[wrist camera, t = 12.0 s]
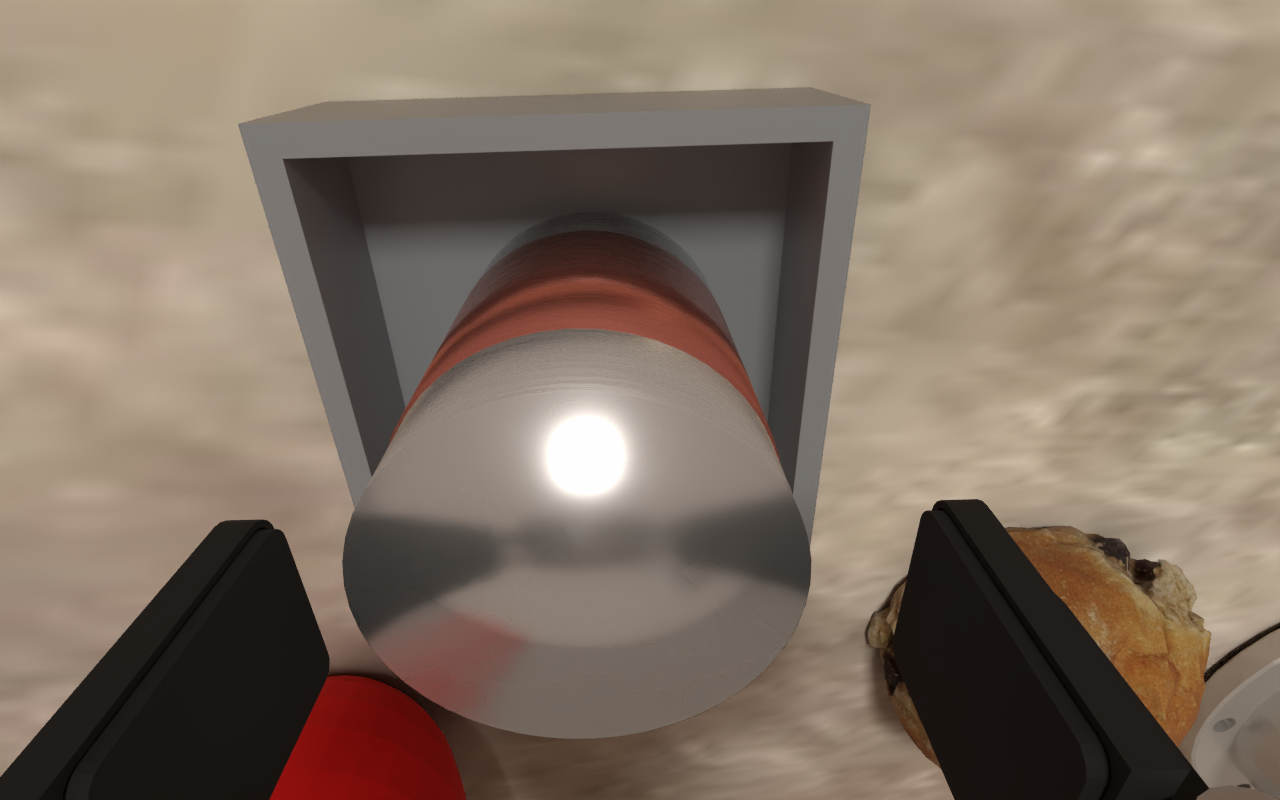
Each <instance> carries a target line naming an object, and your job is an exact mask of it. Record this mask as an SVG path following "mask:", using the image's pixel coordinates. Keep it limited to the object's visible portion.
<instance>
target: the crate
mask: <svg viewBox="0 0 1280 800" xmlns="http://www.w3.org/2000/svg"><path fill="white" fill-rule="evenodd" d="M870 107H871V104H867V103H864V102H860V101H857V100H853V99H850V98H846V97H843V96H839V95H836V94H832V93H829V92H825V91H821V90H818V89H814V88H778V89H744V90H711V91H678V92H644V93H611V94H578V95H544V96H511V97H477V98H444V99H411V100H377V101H344V102H323V103H319V104H315V105H311V106H307V107H303V108H299V109H295V110H291V111H287V112H283V113H279V114H275V115H271V116H267V117H263V118H259V119H256V120H252V121H248V122H244V123H240V124H238V126H239V129H240V132H241V136H242V139H243V142H244V145H245V149H246V152H247V155H248V159H249V162H250V165H251V168H252V172H253V175H254V178H255V182H256V185H257V188H258V191H259V195H260V198H261V201H262V205H263V208H264V211H265V214H266V218H267V221H268V224H269V228H270V231H271V234H272V238H273V241H274V244H275V247H276V251H277V254H278V257H279V261H280V264H281V267H282V270H283V274H284V277H285V280H286V284H287V287H288V290H289V293H290V297H291V300H292V303H293V307H294V310H295V313H296V316H297V320H298V323H299V326H300V330H301V333H302V336H303V339H304V343H305V346H306V349H307V353H308V356H309V359H310V362H311V366H312V369H313V372H314V376H315V379H316V382H317V385H318V389H319V392H320V395H321V399H322V402H323V405H324V408H325V412H326V415H327V418H328V422H329V425H330V428H331V431H332V435H333V438H334V441H335V445H336V448H337V451H338V455H339V458H340V461H341V464H342V468H343V471H344V474H345V478H346V481H347V484H348V487H349V491H350V494H351V497H352V501H353V504H354V507H355V508H356V506H357V504H358V502H359V500H360V499H361V497H362V495H363V493H364V491H365V489H366V487H367V485H368V483H369V482H370V480H371V478H372V476H373V474H374V472H375V471H376V469H377V467H378V465H379V463H380V461H381V460H382V458H383V456H384V454H385V452H386V450H387V449H388V446H389V443H390V439H391V436H392V433H393V431H394V429H395V427H396V425H397V424H398V422H399V420H400V418H401V416H402V414H403V412H404V410H405V408H406V407H407V405H408V403H409V401H410V399H411V398H412V396H413V394H414V392H415V390H416V389H417V387H418V385H419V383H420V381H421V380H422V378H423V376H424V374H425V372H426V371H427V369H428V367H429V365H430V363H431V362H432V360H433V358H434V356H435V354H436V353H437V351H438V349H439V347H440V345H441V344H442V342H443V340H444V338H445V336H446V335H447V333H448V331H449V329H450V327H451V326H452V324H453V322H454V320H455V318H456V317H457V315H458V313H459V311H460V309H461V308H462V306H463V304H464V302H465V300H466V299H467V297H468V295H469V293H470V292H471V291H472V289H473V288H474V286H475V285H476V284H477V282H478V281H479V280H480V278H481V276H482V274H483V272H484V271H485V269H486V267H487V266H488V265H489V263H490V262H491V260H492V259H493V258H494V256H495V255H496V254H497V253H498V252H499V251H500V250H501V249H502V248H503V247H504V246H505V245H506V244H507V243H508V242H509V241H511V240H512V239H513V238H514V237H516V236H517V235H518V234H520V233H521V232H523V231H525V230H527V229H528V228H530V227H532V226H534V225H535V224H538V223H541V222H543V221H546V220H548V219H551V218H554V217H558V216H562V215H566V214H573V213H582V212H602V213H610V214H616V215H622V216H625V217H629V218H632V219H635V220H639V221H641V222H643V223H645V224H648V225H650V226H652V227H654V228H656V229H657V230H659V231H661V232H662V233H664V234H665V235H667V236H669V237H670V238H671V239H672V240H674V241H675V242H676V243H677V244H678V245H680V246H681V247H682V248H683V249H684V250H685V251H686V252H687V254H688V255H689V256H690V257H691V258H692V259H693V260H694V262H695V263H696V265H697V266H698V267H699V269H700V270H701V272H702V273H703V275H704V277H705V279H706V281H707V283H708V285H709V287H710V290H711V292H712V295H713V297H714V298H715V300H716V302H717V304H718V306H719V308H720V310H721V312H722V314H723V316H724V319H725V321H726V324H727V326H728V328H729V331H730V333H731V336H732V338H733V341H734V343H735V345H736V348H737V350H738V353H739V355H740V358H741V360H742V362H743V365H744V367H745V370H746V372H747V375H748V377H749V380H750V382H751V384H752V387H753V389H754V392H755V394H756V397H757V399H758V401H759V404H760V406H761V409H762V411H763V414H764V416H765V418H766V421H767V423H768V426H769V428H770V431H771V433H772V436H773V439H774V442H775V445H776V448H777V451H778V454H779V457H780V463H781V467H782V469H783V472H784V474H785V477H786V479H787V482H788V484H789V487H790V489H791V492H792V494H793V497H794V499H795V502H796V504H797V506H798V509H799V511H800V514H801V517H802V520H803V523H804V526H805V529H806V532H807V535H808V540H809V548H810V543H811V536H812V528H813V521H814V514H815V507H816V499H817V492H818V485H819V477H820V470H821V463H822V456H823V448H824V441H825V434H826V427H827V419H828V412H829V405H830V397H831V390H832V383H833V376H834V368H835V361H836V354H837V347H838V339H839V332H840V325H841V318H842V310H843V303H844V296H845V288H846V281H847V274H848V267H849V259H850V252H851V245H852V238H853V230H854V223H855V216H856V208H857V201H858V194H859V187H860V179H861V172H862V165H863V158H864V150H865V143H866V136H867V128H868V121H869V114H870Z"/></svg>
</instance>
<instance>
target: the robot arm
mask: <svg viewBox="0 0 1280 800" xmlns="http://www.w3.org/2000/svg"><path fill="white" fill-rule="evenodd" d="M893 652H894V657H895V661H896V664H897V667H898V669H899V671H900V674H901V676H902V678H903V681H904V683H905V685H906V688H907V690H908V692H909V695H910V697H911V699H912V702H913V704H914V706H915V709H916V711H917V713H918V716H919V718H920V720H921V723H922V725H923V727H924V730H925V732H926V734H927V737H928V739H929V741H930V744H931V746H932V748H933V750H934V753H935V755H936V757H937V760H938V762H939V764H940V767H941V769H942V771H943V774H944V776H945V778H946V781H947V783H948V785H949V788H950V790H951V792H952V795H953V797H954V799H955V800H1280V628H1279V629H1277V630H1275V631H1273V632H1271V633H1269V634H1267V635H1266V636H1264V637H1263V638H1261V639H1259V640H1258V641H1256V642H1255V643H1253V644H1252V645H1250V646H1248V647H1247V648H1245V649H1244V650H1242V651H1241V652H1239V653H1238V654H1237V655H1235V656H1234V657H1233V658H1232V659H1230V660H1229V661H1228V662H1227V663H1225V664H1224V665H1223V666H1222V667H1220V668H1219V669H1218V670H1217V671H1216V672H1215V673H1214V674H1213V675H1212V676H1211V677H1210V678H1209V679H1208V680H1207V681H1206V682H1205V686H1206V687H1205V690H1204V693H1203V696H1202V700H1201V706H1200V709H1199V713H1198V716H1197V719H1196V721H1195V722H1194V724H1193V726H1192V727H1191V729H1190V731H1189V732H1188V733H1187V735H1186V736H1185V738H1184V739H1183V741H1182V743H1181V745H1180V746H1179V748H1178V747H1177V746H1176V745H1175V743H1174V742H1173V741H1172V740H1171V738H1170V737H1169V736H1168V734H1167V733H1166V732H1165V731H1164V729H1163V728H1162V727H1161V726H1160V724H1159V723H1158V722H1157V720H1156V719H1155V718H1154V717H1153V715H1152V714H1151V713H1150V711H1149V710H1148V709H1147V708H1146V706H1145V705H1144V704H1143V702H1142V701H1141V700H1140V699H1139V697H1138V696H1137V695H1136V693H1135V692H1134V691H1133V690H1132V688H1131V687H1130V686H1129V684H1128V683H1127V682H1126V681H1125V679H1124V678H1123V677H1122V675H1121V674H1120V673H1119V672H1118V670H1117V669H1116V668H1115V666H1114V665H1113V664H1112V663H1111V661H1110V660H1109V659H1108V657H1107V656H1106V655H1105V654H1104V652H1103V651H1102V650H1101V648H1100V647H1099V646H1098V645H1097V643H1096V642H1095V641H1094V639H1093V638H1092V637H1091V636H1090V634H1089V633H1088V632H1087V630H1086V629H1085V628H1084V627H1083V625H1082V624H1081V623H1080V621H1079V620H1078V619H1077V618H1076V616H1075V615H1074V614H1073V612H1072V611H1071V610H1070V609H1069V607H1068V606H1067V605H1066V604H1065V603H1064V602H1063V601H1062V600H1061V599H1060V598H1059V597H1058V596H1057V595H1056V594H1055V593H1054V592H1053V590H1052V589H1051V588H1050V586H1049V585H1048V584H1047V583H1046V581H1045V580H1044V579H1043V577H1042V576H1041V575H1040V573H1039V572H1038V571H1037V570H1036V568H1035V567H1034V566H1033V564H1032V563H1031V562H1030V561H1029V559H1028V558H1027V557H1026V555H1025V554H1024V553H1023V551H1022V550H1021V549H1020V548H1019V546H1018V545H1017V544H1016V542H1015V541H1014V540H1013V539H1012V537H1011V536H1010V535H1009V533H1008V532H1007V531H1006V529H1005V528H1004V527H1003V526H1002V524H1001V523H1000V522H999V520H998V519H997V518H996V517H995V515H994V514H993V513H992V511H991V510H990V509H989V508H988V506H987V505H986V504H985V503H984V502H983V501H981V500H978V499H969V500H940V501H937V502H936V503H935V505H934V506H933V509H932V511H925V512H924V513H923V514H922V516H921V519H920V524H919V528H918V532H917V537H916V541H915V545H914V550H913V554H912V558H911V563H910V567H909V571H908V576H907V580H906V584H905V589H904V593H903V597H902V602H901V606H900V611H899V615H898V619H897V624H896V628H895V632H894V637H893ZM328 672H329V655H328V651H327V649H326V646H325V643H324V640H323V638H322V635H321V632H320V630H319V627H318V624H317V621H316V619H315V616H314V613H313V610H312V608H311V605H310V602H309V600H308V597H307V594H306V591H305V589H304V586H303V583H302V580H301V578H300V575H299V572H298V570H297V567H296V564H295V561H294V559H293V556H292V553H291V550H290V548H289V545H288V542H287V540H286V537H285V535H284V533H283V532H282V531H281V530H278V529H274V527H273V526H272V524H271V523H270V522H269V521H267V520H230V521H223V522H220V523H219V524H218V525H217V526H215V527H214V528H213V530H212V531H211V532H210V533H209V534H208V535H207V537H206V538H205V539H204V540H203V541H202V542H201V544H200V545H199V546H198V547H197V548H196V549H195V551H194V552H193V553H192V554H191V555H190V556H189V558H188V559H187V560H186V561H185V562H184V563H183V565H182V566H181V567H180V568H179V569H178V570H177V572H176V573H175V574H174V575H173V576H172V577H171V579H170V580H169V581H168V582H167V583H166V584H165V586H164V587H163V588H162V589H161V590H160V591H159V593H158V594H157V595H156V596H155V597H154V598H153V600H152V601H151V602H150V603H149V604H148V605H147V607H146V608H145V609H144V610H143V611H142V612H141V614H140V615H139V616H138V617H137V618H136V619H135V621H134V622H133V623H132V624H131V625H130V626H129V628H128V629H127V630H126V631H125V632H124V633H123V635H122V636H121V637H120V638H119V639H118V640H117V642H116V643H115V644H114V645H113V646H112V647H111V649H110V650H109V651H108V652H107V653H106V654H105V656H104V657H103V658H102V659H101V660H100V661H99V663H98V664H97V665H96V666H95V667H94V668H93V670H92V671H91V672H90V673H89V674H88V675H87V677H86V678H85V679H84V680H83V681H82V682H81V684H80V685H79V686H78V687H77V688H76V689H75V691H74V692H73V693H72V694H71V695H70V696H69V698H68V699H67V700H66V701H65V702H64V703H63V705H62V706H61V707H60V708H59V709H58V710H57V712H56V713H55V714H54V715H53V716H52V717H51V719H50V720H49V721H48V722H47V723H46V724H45V726H44V727H43V728H42V729H41V730H40V731H39V733H38V734H37V735H36V736H35V737H34V738H33V740H32V741H31V742H30V743H29V744H28V745H27V747H26V748H25V749H24V750H23V751H22V752H21V754H20V755H19V756H18V757H17V758H16V759H15V761H14V762H13V763H12V764H11V765H10V766H9V768H8V769H7V770H6V771H5V772H4V773H3V775H2V776H1V777H0V800H269V799H270V797H271V795H272V793H273V791H274V789H275V787H276V785H277V783H278V780H279V778H280V776H281V774H282V772H283V770H284V768H285V766H286V764H287V762H288V759H289V757H290V755H291V753H292V751H293V749H294V747H295V745H296V743H297V741H298V738H299V736H300V734H301V732H302V730H303V728H304V726H305V724H306V722H307V719H308V717H309V715H310V713H311V711H312V709H313V707H314V705H315V703H316V701H317V698H318V696H319V694H320V692H321V690H322V688H323V686H324V684H325V682H326V679H327V676H328Z"/></svg>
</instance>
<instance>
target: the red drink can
mask: <svg viewBox="0 0 1280 800" xmlns="http://www.w3.org/2000/svg"><path fill="white" fill-rule="evenodd" d="M342 562H343V577H344V587H345V591H346V595H347V599H348V603H349V607H350V609H351V611H352V614H353V616H354V618H355V621H356V623H357V625H358V627H359V629H360V631H361V632H362V634H363V636H364V637H365V639H366V640H367V642H368V643H369V645H370V647H371V648H372V649H373V651H374V652H375V653H376V654H377V655H378V656H379V658H380V659H381V660H382V661H383V662H384V663H385V665H386V666H387V667H388V668H389V669H390V670H392V671H393V672H394V673H395V674H396V675H397V676H398V677H399V678H400V679H401V680H403V681H404V682H405V683H406V684H408V685H409V686H410V687H412V688H413V689H415V690H416V691H417V692H419V693H420V694H422V695H423V696H424V697H426V698H428V699H429V700H431V701H433V702H435V703H437V704H438V705H440V706H442V707H444V708H445V709H447V710H450V711H452V712H454V713H456V714H459V715H461V716H463V717H466V718H468V719H470V720H473V721H476V722H479V723H482V724H485V725H488V726H491V727H494V728H499V729H503V730H507V731H511V732H515V733H520V734H527V735H533V736H540V737H549V738H564V739H595V738H606V737H616V736H624V735H630V734H635V733H641V732H646V731H650V730H654V729H657V728H661V727H665V726H668V725H672V724H675V723H677V722H680V721H683V720H685V719H688V718H691V717H693V716H696V715H698V714H700V713H702V712H704V711H706V710H708V709H710V708H712V707H714V706H716V705H718V704H720V703H721V702H723V701H725V700H726V699H728V698H729V697H731V696H733V695H734V694H736V693H738V692H739V691H740V690H741V689H743V688H744V687H745V686H747V685H748V684H749V683H750V682H752V681H753V680H754V679H756V678H757V677H758V676H759V675H760V674H761V673H762V672H763V671H764V670H765V669H766V668H767V667H768V666H769V665H770V664H771V663H772V662H773V661H774V659H775V658H776V657H777V656H778V654H779V653H780V652H781V650H782V649H783V648H784V647H785V645H786V644H787V642H788V641H789V639H790V637H791V635H792V634H793V632H794V630H795V629H796V627H797V625H798V623H799V620H800V618H801V615H802V612H803V610H804V607H805V605H806V601H807V596H808V591H809V587H810V579H811V555H810V548H809V540H808V535H807V532H806V529H805V526H804V523H803V520H802V517H801V514H800V511H799V509H798V506H797V504H796V502H795V499H794V497H793V494H792V492H791V489H790V487H789V484H788V482H787V479H786V477H785V474H784V472H783V469H782V467H781V463H780V457H779V454H778V451H777V448H776V445H775V442H774V439H773V436H772V433H771V431H770V428H769V426H768V423H767V421H766V418H765V416H764V414H763V411H762V409H761V406H760V404H759V401H758V399H757V397H756V394H755V392H754V389H753V387H752V384H751V382H750V380H749V377H748V375H747V372H746V370H745V367H744V365H743V362H742V360H741V358H740V355H739V353H738V350H737V348H736V345H735V343H734V341H733V338H732V336H731V333H730V331H729V328H728V326H727V324H726V321H725V319H724V316H723V314H722V312H721V310H720V308H719V306H718V304H717V302H716V300H715V298H714V297H713V295H712V292H711V290H710V287H709V285H708V283H707V281H706V279H705V277H704V275H703V273H702V272H701V270H700V269H699V267H698V266H697V265H696V263H695V262H694V260H693V259H692V258H691V257H690V256H689V255H688V254H687V252H686V251H685V250H684V249H683V248H682V247H681V246H680V245H678V244H677V243H676V242H675V241H674V240H672V239H671V238H670V237H669V236H667V235H665V234H664V233H662V232H661V231H659V230H657V229H656V228H654V227H652V226H650V225H648V224H645V223H643V222H641V221H639V220H635V219H632V218H629V217H625V216H622V215H616V214H610V213H602V212H582V213H573V214H566V215H562V216H558V217H554V218H551V219H548V220H546V221H543V222H541V223H538V224H535V225H534V226H532V227H530V228H528V229H527V230H525V231H523V232H521V233H520V234H518V235H517V236H516V237H514V238H513V239H512V240H511V241H509V242H508V243H507V244H506V245H505V246H504V247H503V248H502V249H501V250H500V251H499V252H498V253H497V254H496V255H495V256H494V258H493V259H492V260H491V262H490V263H489V265H488V266H487V267H486V269H485V271H484V272H483V274H482V276H481V278H480V280H479V281H478V282H477V284H476V285H475V286H474V288H473V289H472V291H471V292H470V293H469V295H468V297H467V299H466V300H465V302H464V304H463V306H462V308H461V309H460V311H459V313H458V315H457V317H456V318H455V320H454V322H453V324H452V326H451V327H450V329H449V331H448V333H447V335H446V336H445V338H444V340H443V342H442V344H441V345H440V347H439V349H438V351H437V353H436V354H435V356H434V358H433V360H432V362H431V363H430V365H429V367H428V369H427V371H426V372H425V374H424V376H423V378H422V380H421V381H420V383H419V385H418V387H417V389H416V390H415V392H414V394H413V396H412V398H411V399H410V401H409V403H408V405H407V407H406V408H405V410H404V412H403V414H402V416H401V418H400V420H399V422H398V424H397V425H396V427H395V429H394V431H393V433H392V436H391V439H390V443H389V446H388V449H387V450H386V452H385V454H384V456H383V458H382V460H381V461H380V463H379V465H378V467H377V469H376V471H375V472H374V474H373V476H372V478H371V480H370V482H369V483H368V485H367V487H366V489H365V491H364V493H363V495H362V497H361V499H360V500H359V502H358V504H357V506H356V508H355V510H354V512H353V514H352V517H351V520H350V524H349V527H348V530H347V533H346V537H345V544H344V552H343V561H342Z"/></svg>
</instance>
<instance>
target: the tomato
mask: <svg viewBox="0 0 1280 800" xmlns="http://www.w3.org/2000/svg"><path fill="white" fill-rule="evenodd" d="M269 800H466V795H465V791H464V788H463V784H462V781H461V777H460V774H459V771H458V768H457V765H456V762H455V759H454V756H453V753H452V750H451V748H450V746H449V744H448V741H447V739H446V737H445V735H444V734H443V732H442V731H441V730H440V728H439V727H438V726H437V724H436V723H435V722H434V720H433V719H432V718H431V717H430V716H429V715H428V713H427V712H426V711H425V710H424V709H423V708H422V707H421V706H420V705H419V704H418V703H416V702H415V701H414V700H413V699H412V698H410V697H409V696H407V695H406V694H404V693H402V692H401V691H399V690H397V689H395V688H393V687H391V686H389V685H386V684H384V683H382V682H379V681H376V680H372V679H369V678H366V677H358V676H349V675H343V676H327V679H326V682H325V684H324V686H323V688H322V690H321V692H320V694H319V696H318V698H317V701H316V703H315V705H314V707H313V709H312V711H311V713H310V715H309V717H308V719H307V722H306V724H305V726H304V728H303V730H302V732H301V734H300V736H299V738H298V741H297V743H296V745H295V747H294V749H293V751H292V753H291V755H290V757H289V759H288V762H287V764H286V766H285V768H284V770H283V772H282V774H281V776H280V778H279V780H278V783H277V785H276V787H275V789H274V791H273V793H272V795H271V797H270V799H269Z"/></svg>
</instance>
